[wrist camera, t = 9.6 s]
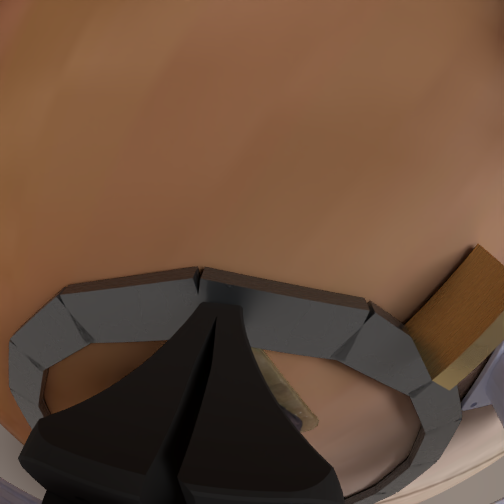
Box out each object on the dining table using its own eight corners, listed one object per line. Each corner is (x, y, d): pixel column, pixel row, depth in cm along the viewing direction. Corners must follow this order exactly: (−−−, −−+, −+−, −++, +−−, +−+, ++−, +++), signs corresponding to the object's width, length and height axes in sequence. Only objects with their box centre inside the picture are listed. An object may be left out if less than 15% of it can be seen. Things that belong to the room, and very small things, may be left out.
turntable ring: (554, 363, 13) (573, 391, 10) (270, 531, 27) (269, 552, 24) (142, -6, 7) (95, -40, 4) (16, 433, 20) (4, 455, 18)
